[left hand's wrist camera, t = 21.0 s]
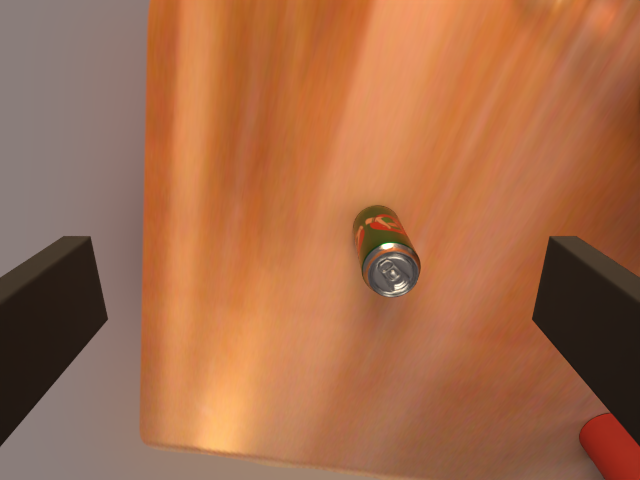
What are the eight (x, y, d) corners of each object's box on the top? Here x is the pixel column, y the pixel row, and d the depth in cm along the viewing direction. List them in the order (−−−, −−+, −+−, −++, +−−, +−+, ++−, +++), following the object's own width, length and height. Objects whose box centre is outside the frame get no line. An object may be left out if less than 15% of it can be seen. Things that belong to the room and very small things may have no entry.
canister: (568, 444, 59) (632, 540, 47) (599, 406, 57) (675, 498, 45) (611, 458, 60) (684, 556, 48) (643, 422, 58) (729, 516, 46)
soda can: (371, 255, 48) (387, 311, 37) (343, 223, 47) (350, 271, 36) (408, 228, 47) (435, 278, 36) (380, 194, 46) (399, 235, 35)
